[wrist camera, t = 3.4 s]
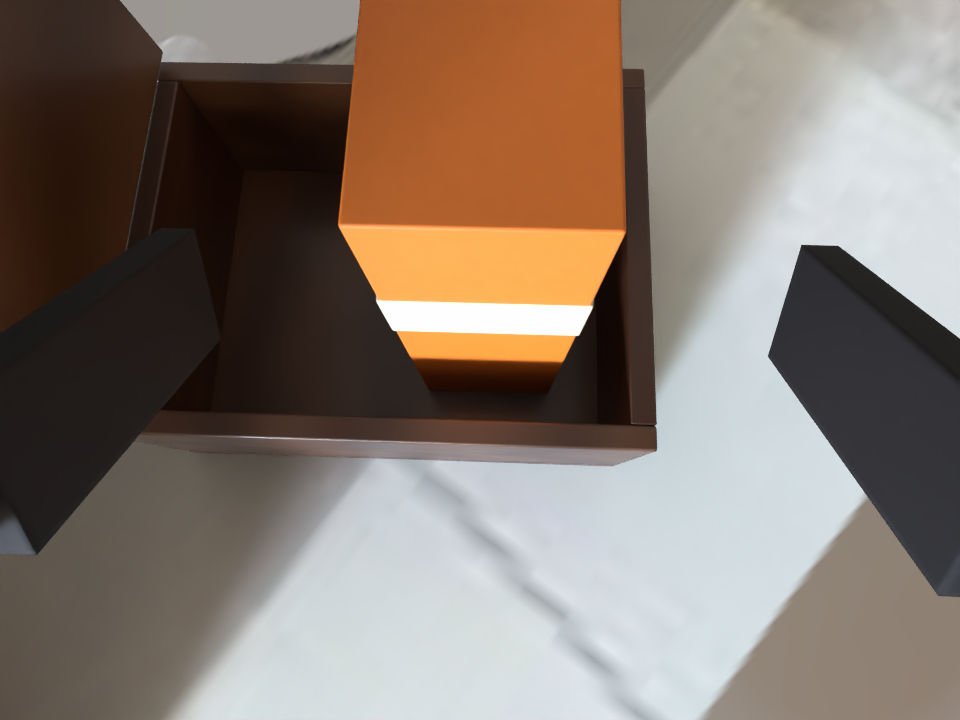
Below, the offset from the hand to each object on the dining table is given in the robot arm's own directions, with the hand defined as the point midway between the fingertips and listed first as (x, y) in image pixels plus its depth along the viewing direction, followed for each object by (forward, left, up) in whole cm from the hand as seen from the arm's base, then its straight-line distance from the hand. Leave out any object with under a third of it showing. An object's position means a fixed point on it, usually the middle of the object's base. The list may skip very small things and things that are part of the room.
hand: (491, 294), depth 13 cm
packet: (0, +4, -12) cm, 12 cm away
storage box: (-4, +4, -13) cm, 14 cm away
